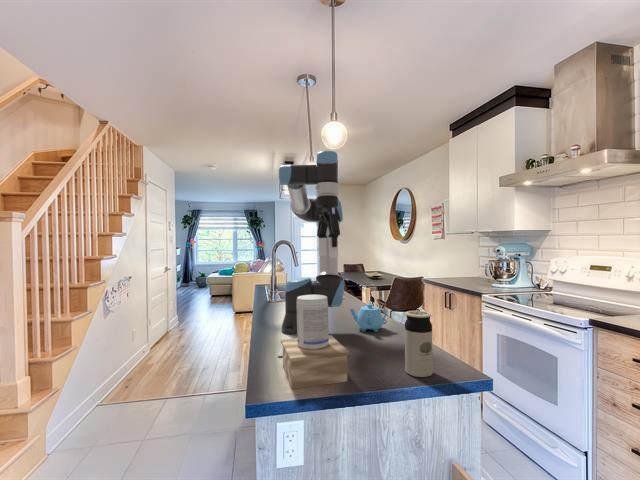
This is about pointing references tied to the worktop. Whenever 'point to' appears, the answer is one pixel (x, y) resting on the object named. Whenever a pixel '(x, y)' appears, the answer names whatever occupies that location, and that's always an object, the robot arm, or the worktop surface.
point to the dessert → (281, 353)
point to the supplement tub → (312, 321)
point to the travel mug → (418, 344)
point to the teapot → (369, 317)
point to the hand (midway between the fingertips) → (327, 256)
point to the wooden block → (314, 363)
